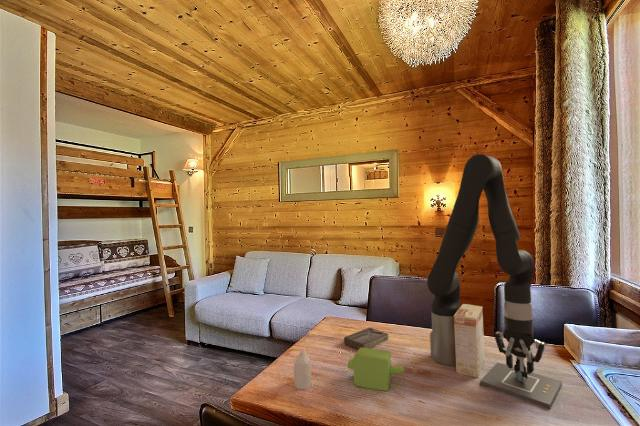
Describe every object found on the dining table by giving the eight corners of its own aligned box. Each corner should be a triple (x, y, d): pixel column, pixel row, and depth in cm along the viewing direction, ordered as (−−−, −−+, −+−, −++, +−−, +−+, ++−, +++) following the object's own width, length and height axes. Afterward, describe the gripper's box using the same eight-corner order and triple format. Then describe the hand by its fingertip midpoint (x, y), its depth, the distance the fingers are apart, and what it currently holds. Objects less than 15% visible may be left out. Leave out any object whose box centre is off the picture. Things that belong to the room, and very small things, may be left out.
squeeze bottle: (292, 345, 105) (308, 343, 106) (293, 381, 105) (310, 379, 106) (293, 352, 99) (311, 350, 100) (295, 390, 99) (312, 388, 100)
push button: (535, 386, 94) (535, 352, 94) (515, 383, 95) (514, 350, 95) (526, 374, 100) (526, 343, 100) (507, 372, 101) (507, 341, 101)
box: (343, 344, 132) (343, 336, 132) (369, 333, 144) (369, 326, 144) (363, 352, 124) (363, 344, 124) (389, 340, 136) (389, 333, 136)
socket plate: (480, 384, 99) (480, 380, 99) (497, 365, 110) (497, 362, 110) (550, 409, 86) (550, 404, 86) (562, 385, 97) (561, 381, 97)
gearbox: (405, 379, 104) (405, 350, 105) (402, 394, 95) (402, 362, 95) (352, 370, 111) (352, 343, 111) (345, 384, 101) (345, 354, 102)
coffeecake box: (464, 355, 119) (462, 303, 119) (485, 359, 115) (483, 306, 114) (455, 372, 106) (452, 314, 106) (478, 378, 102) (476, 318, 102)
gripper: (488, 313, 100) (490, 367, 100) (542, 323, 90) (544, 383, 90) (496, 307, 105) (498, 358, 105) (548, 317, 95) (550, 373, 95)
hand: (519, 370), depth 98 cm, fingers closed on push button, 4 cm apart
